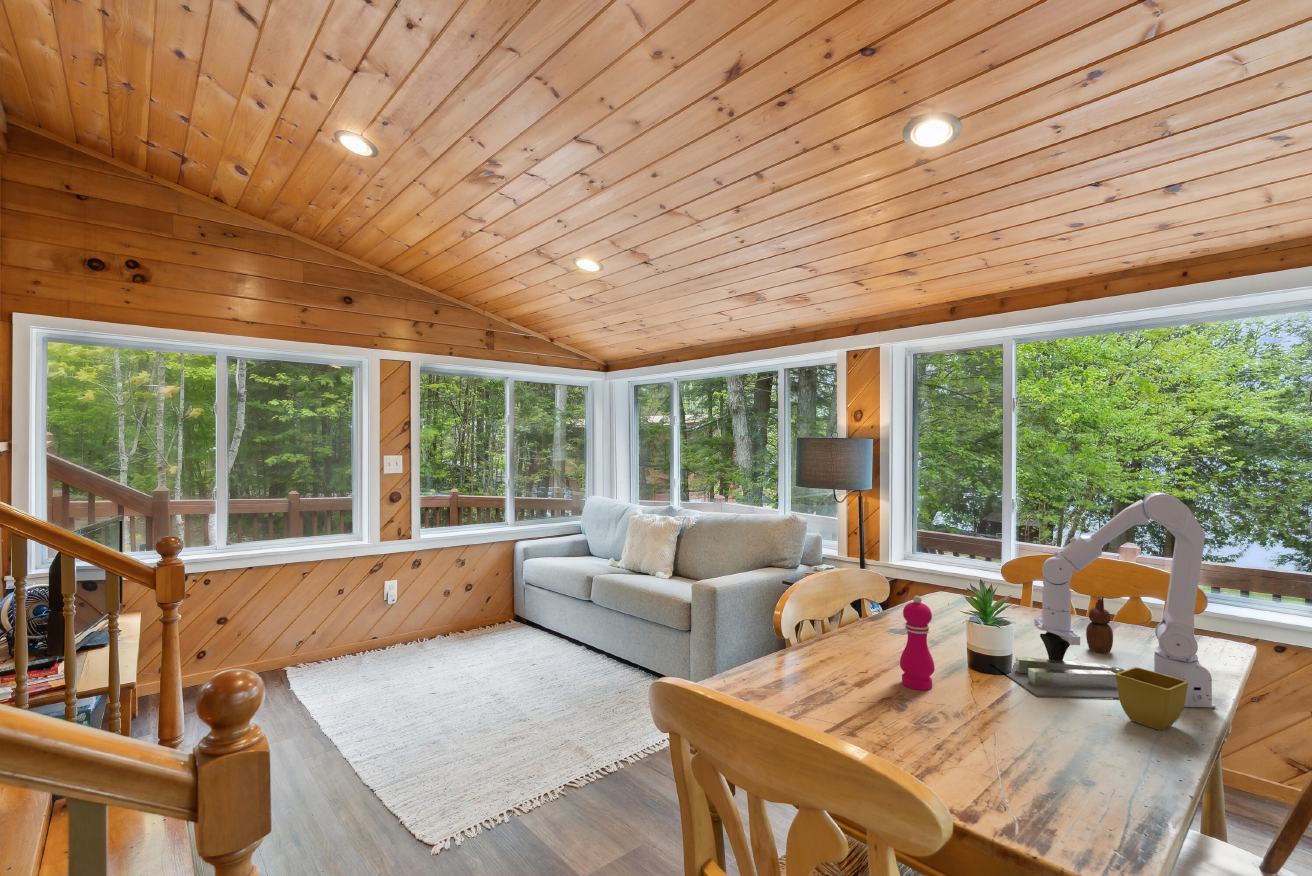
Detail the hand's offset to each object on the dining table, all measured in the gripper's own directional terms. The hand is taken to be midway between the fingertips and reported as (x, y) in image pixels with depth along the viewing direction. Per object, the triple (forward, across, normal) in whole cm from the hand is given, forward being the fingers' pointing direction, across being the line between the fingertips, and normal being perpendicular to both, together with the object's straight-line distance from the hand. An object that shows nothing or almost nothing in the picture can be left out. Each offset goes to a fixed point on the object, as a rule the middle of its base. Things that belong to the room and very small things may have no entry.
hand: (1055, 665), depth 144 cm
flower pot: (+2, +26, +3) cm, 26 cm away
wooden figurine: (+2, -18, +22) cm, 29 cm away
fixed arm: (+2, +7, -1) cm, 8 cm away
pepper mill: (+2, +9, -36) cm, 37 cm away
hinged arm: (+1, +3, +1) cm, 4 cm away
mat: (+2, +4, +1) cm, 5 cm away
